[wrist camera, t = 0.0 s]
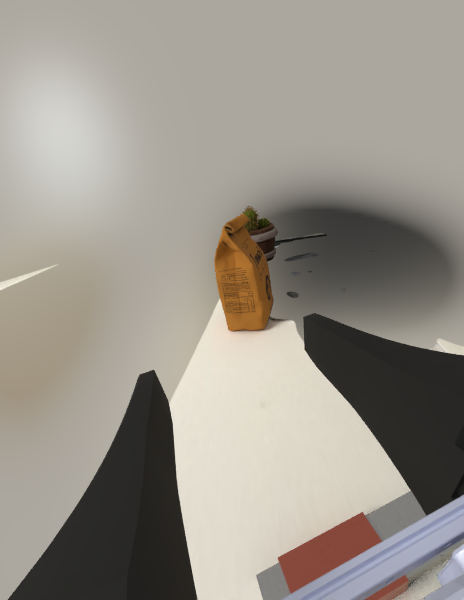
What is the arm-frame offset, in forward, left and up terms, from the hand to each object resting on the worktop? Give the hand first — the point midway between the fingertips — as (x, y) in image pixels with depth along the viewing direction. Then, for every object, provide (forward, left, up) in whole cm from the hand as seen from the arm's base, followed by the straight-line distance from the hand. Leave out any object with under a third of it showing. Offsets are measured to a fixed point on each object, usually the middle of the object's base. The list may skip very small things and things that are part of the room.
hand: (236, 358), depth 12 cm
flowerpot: (+76, -30, -22) cm, 85 cm away
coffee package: (+39, -12, -22) cm, 46 cm away
